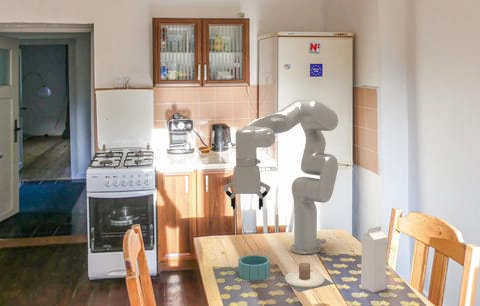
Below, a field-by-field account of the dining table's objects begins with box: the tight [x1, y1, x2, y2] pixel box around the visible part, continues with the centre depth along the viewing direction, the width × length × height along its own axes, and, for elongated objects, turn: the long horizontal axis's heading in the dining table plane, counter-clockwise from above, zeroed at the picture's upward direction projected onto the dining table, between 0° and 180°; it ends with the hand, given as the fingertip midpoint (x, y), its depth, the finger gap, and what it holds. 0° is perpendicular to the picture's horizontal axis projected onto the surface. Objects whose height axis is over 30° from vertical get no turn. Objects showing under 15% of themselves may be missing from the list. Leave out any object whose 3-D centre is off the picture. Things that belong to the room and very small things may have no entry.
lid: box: [284, 262, 325, 289], centre depth 185 cm, size 14×14×6 cm
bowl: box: [238, 254, 271, 282], centre depth 192 cm, size 12×12×6 cm
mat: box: [275, 269, 335, 293], centre depth 185 cm, size 15×15×1 cm
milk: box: [360, 225, 388, 293], centre depth 176 cm, size 6×6×22 cm
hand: (247, 208), depth 190 cm, fingers open, 9 cm apart
